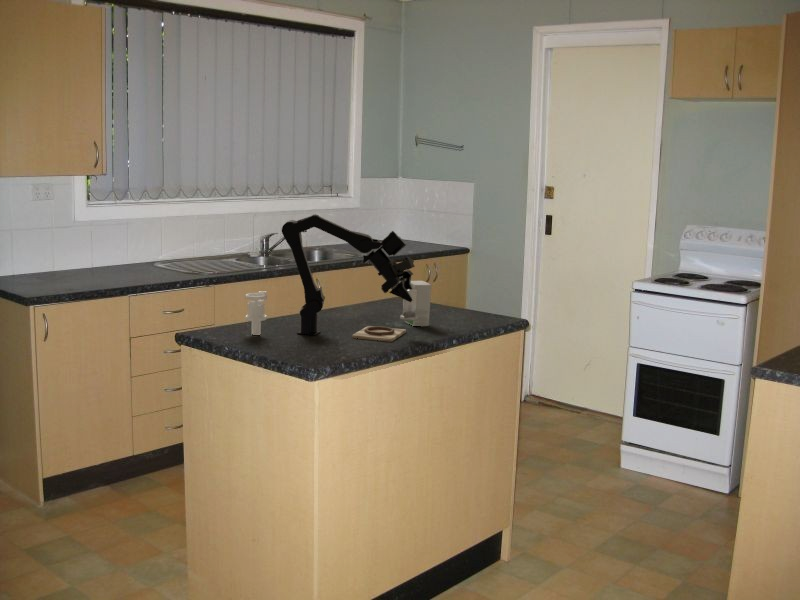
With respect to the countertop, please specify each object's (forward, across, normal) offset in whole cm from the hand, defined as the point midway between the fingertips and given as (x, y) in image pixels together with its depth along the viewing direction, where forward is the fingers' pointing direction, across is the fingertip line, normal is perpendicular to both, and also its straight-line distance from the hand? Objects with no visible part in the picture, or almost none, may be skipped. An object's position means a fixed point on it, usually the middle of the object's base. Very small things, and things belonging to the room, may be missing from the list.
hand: (413, 300), depth 302 cm
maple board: (+1, 0, +18) cm, 18 cm away
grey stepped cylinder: (-25, -17, +45) cm, 55 cm away
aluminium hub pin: (+4, 0, +6) cm, 7 cm away
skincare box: (+6, +23, +13) cm, 27 cm away
